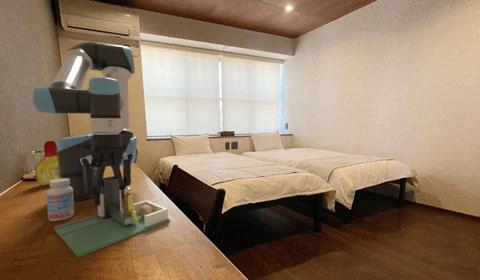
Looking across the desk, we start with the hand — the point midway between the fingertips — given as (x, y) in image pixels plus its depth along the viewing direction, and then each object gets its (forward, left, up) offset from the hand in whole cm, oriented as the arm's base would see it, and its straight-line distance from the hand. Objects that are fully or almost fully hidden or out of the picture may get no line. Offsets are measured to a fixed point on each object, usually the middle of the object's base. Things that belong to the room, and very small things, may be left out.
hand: (110, 212), depth 65 cm
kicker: (+5, 0, -1) cm, 5 cm away
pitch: (+6, -1, -2) cm, 7 cm away
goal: (+9, +6, -2) cm, 11 cm away
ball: (+9, +6, +1) cm, 11 cm away
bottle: (-61, -1, -2) cm, 61 cm away
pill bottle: (-12, -9, -2) cm, 15 cm away
